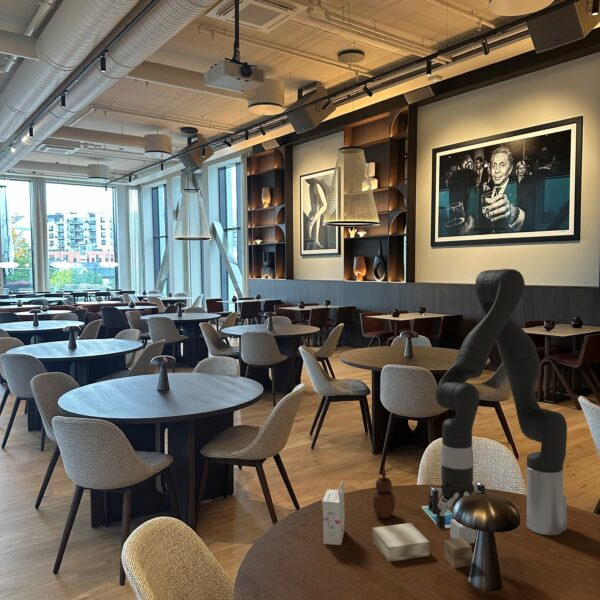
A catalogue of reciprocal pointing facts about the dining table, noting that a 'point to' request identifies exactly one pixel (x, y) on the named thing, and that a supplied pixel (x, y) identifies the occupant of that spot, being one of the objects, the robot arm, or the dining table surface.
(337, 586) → the dining table surface
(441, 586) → the dining table surface
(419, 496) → the dining table surface
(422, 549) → the birch block
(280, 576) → the dining table surface
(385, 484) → the wooden figurine
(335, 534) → the ink cartridge box
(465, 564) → the walnut cube
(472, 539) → the grey cube
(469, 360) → the robot arm
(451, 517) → the smartphone
